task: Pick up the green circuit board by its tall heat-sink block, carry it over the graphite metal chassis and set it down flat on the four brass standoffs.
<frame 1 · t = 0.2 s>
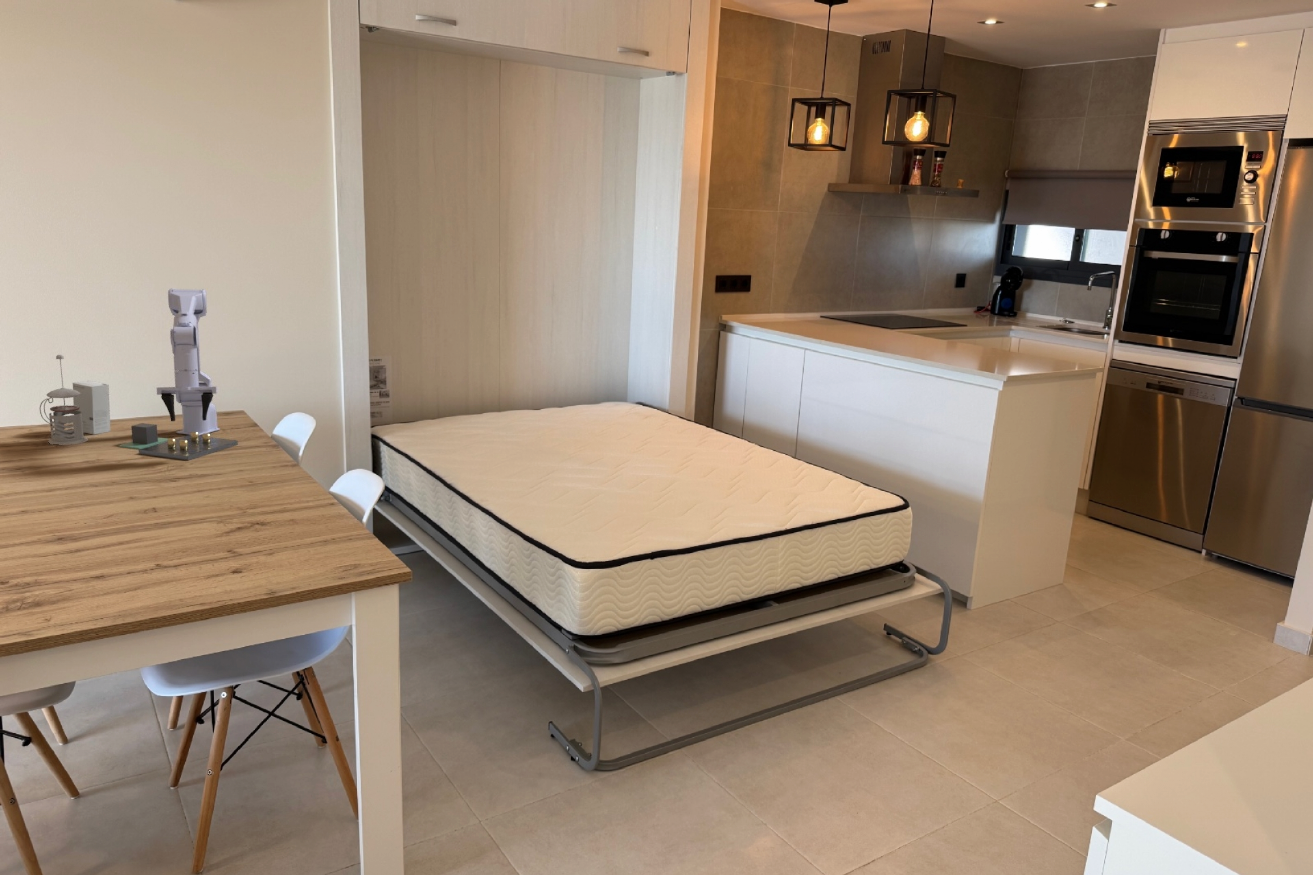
hand: (188, 420, 246), 11 cm above the table, tool pointing down, fingers open, 7 cm apart
french press: (65, 441, 258), on the table
chassis: (189, 449, 257), on the table
board: (145, 444, 260), on the table
skincare box: (93, 432, 270), on the table
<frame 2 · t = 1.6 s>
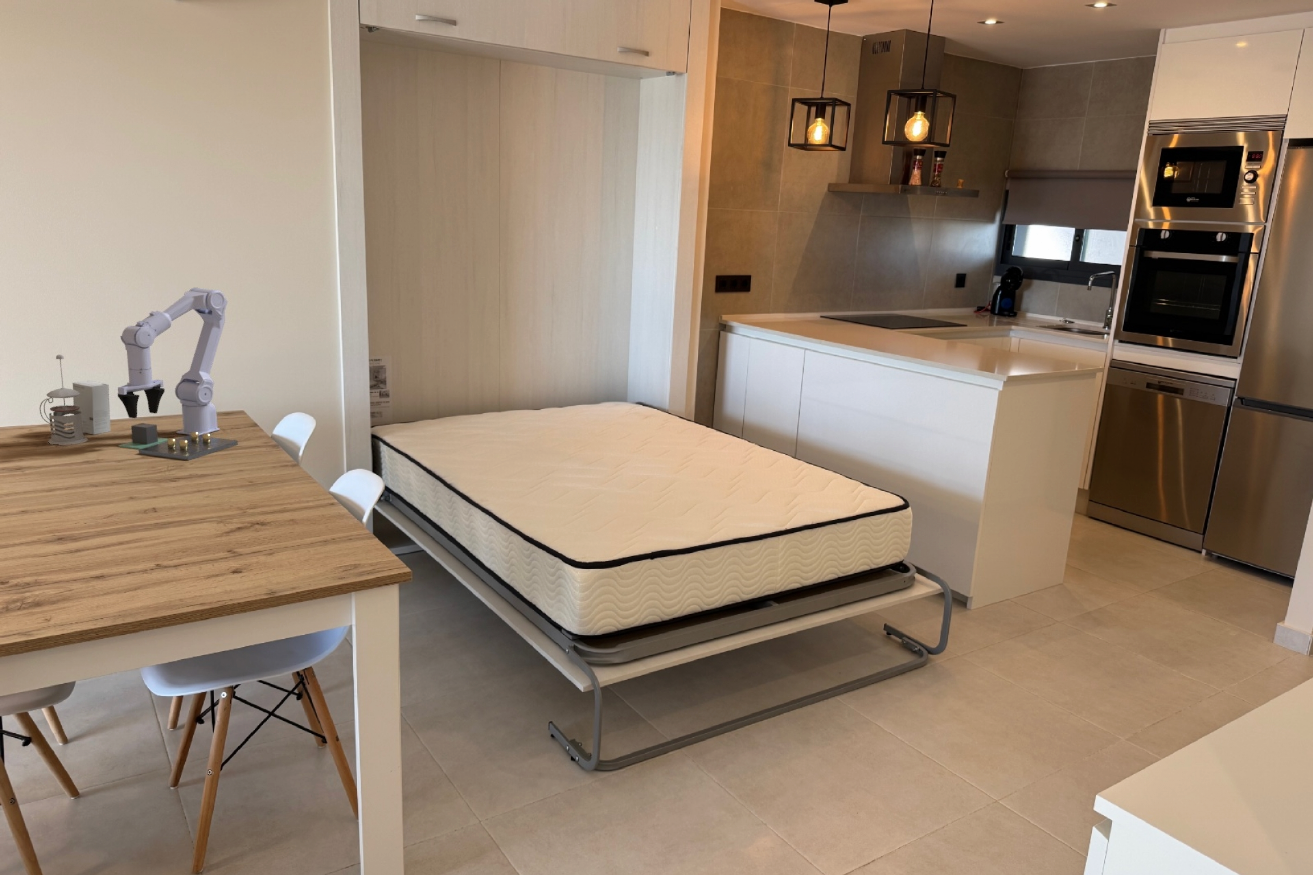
hand: (143, 415, 258), 8 cm above the table, tool pointing down, fingers open, 7 cm apart
nothing on the table moved.
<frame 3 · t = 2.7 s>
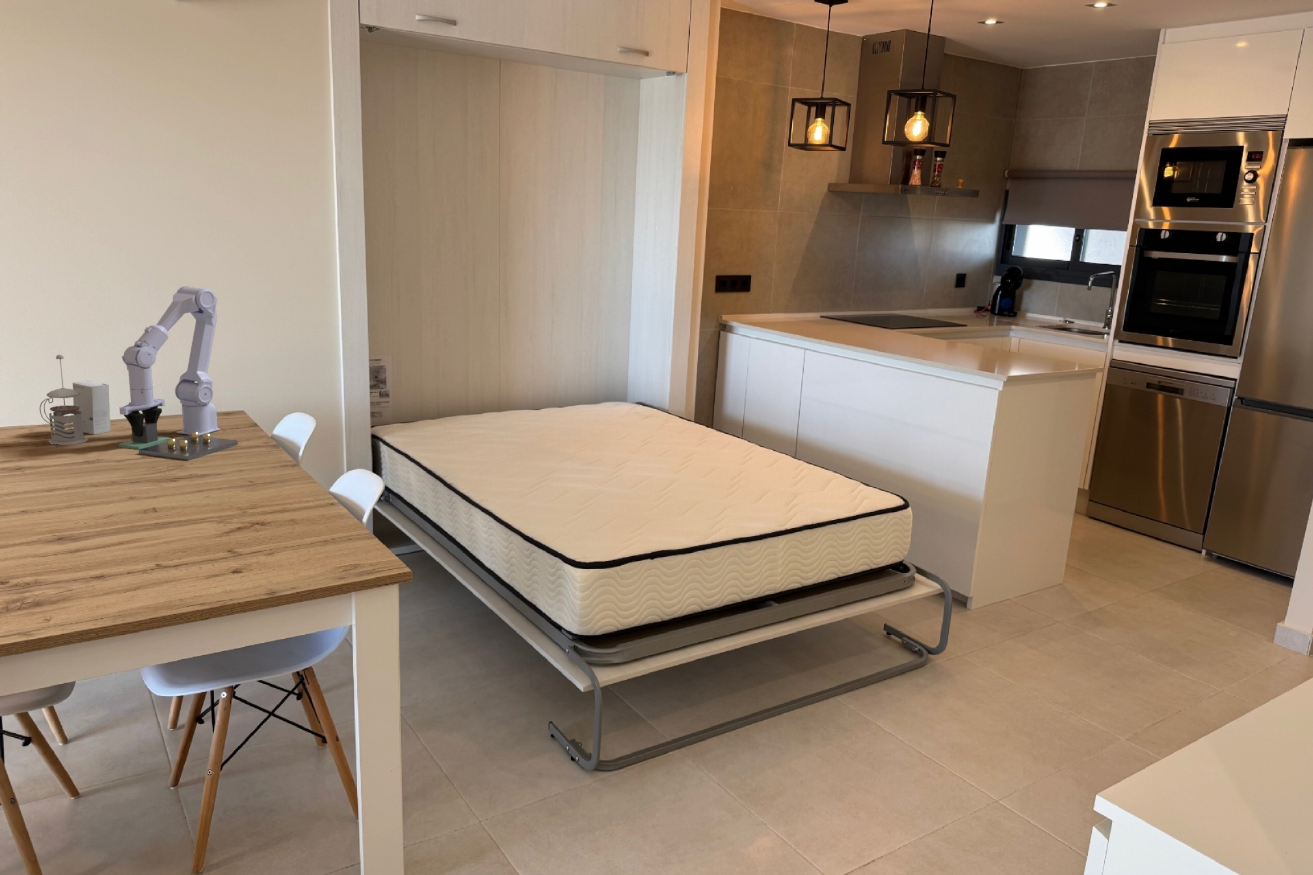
hand: (144, 434, 260), 3 cm above the table, tool pointing down, fingers closed on board, 4 cm apart
board: (145, 443, 260), on the table, touching gripper
everything else where it was.
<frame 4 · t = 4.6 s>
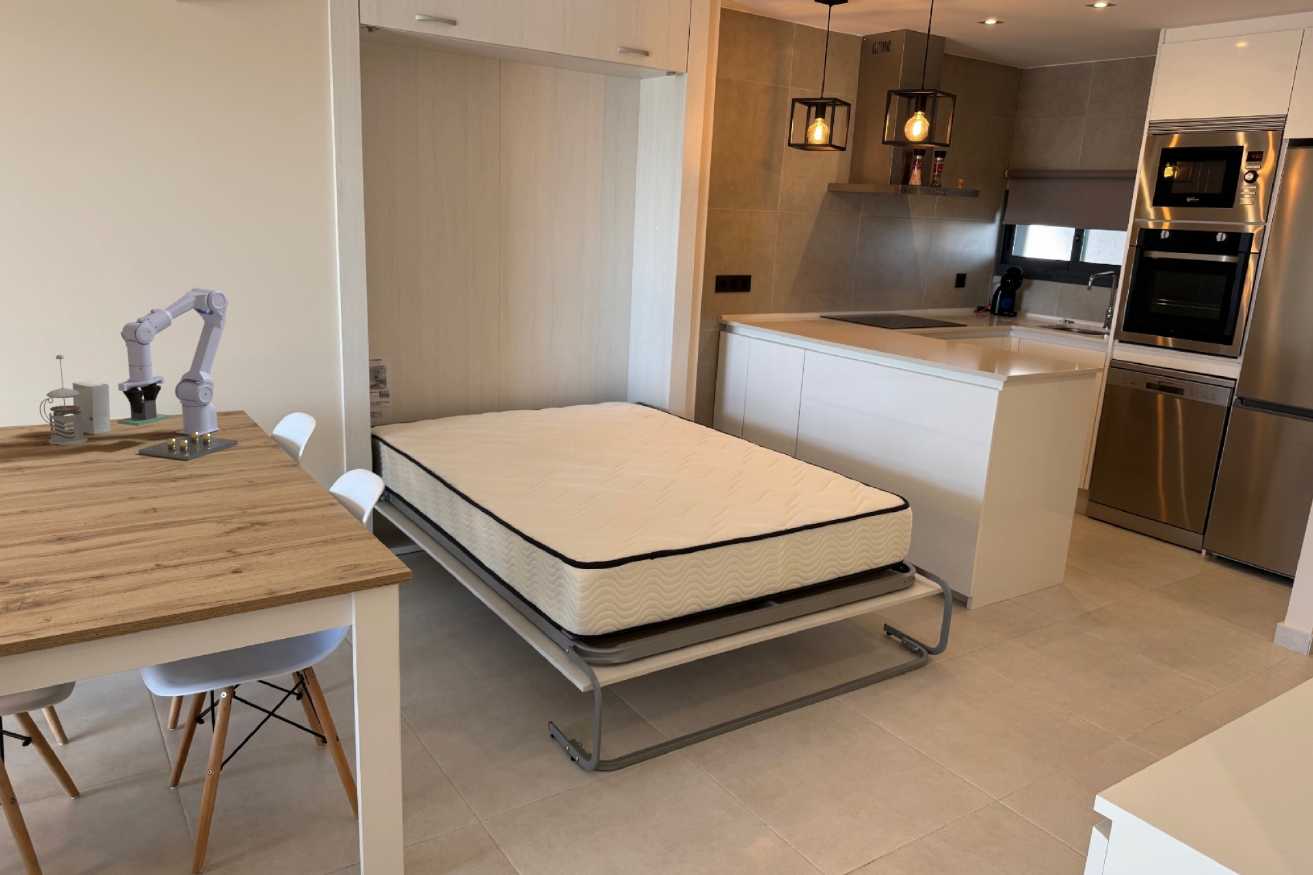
hand: (143, 411, 258), 9 cm above the table, tool pointing down, fingers closed on board, 4 cm apart
board: (144, 420, 259), point 7 cm above the table, touching gripper
everything else where it was.
when the fingers open (7 cm above the table, at t = 6.7 s): board stays where it is, resting on chassis.
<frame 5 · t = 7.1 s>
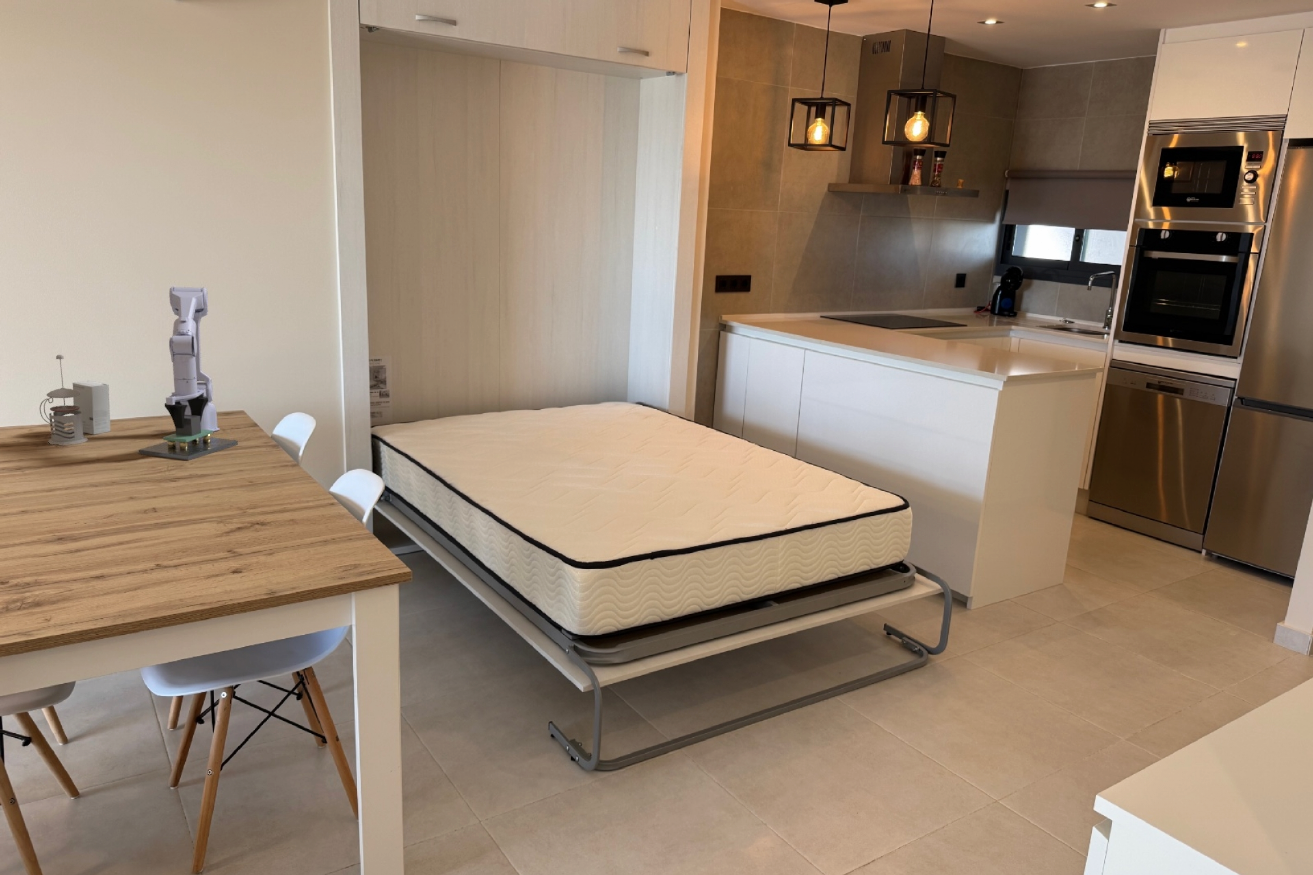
hand: (188, 425, 255), 7 cm above the table, tool pointing down, fingers open, 7 cm apart
board: (188, 436, 256), point 4 cm above the table, touching chassis
everything else where it was.
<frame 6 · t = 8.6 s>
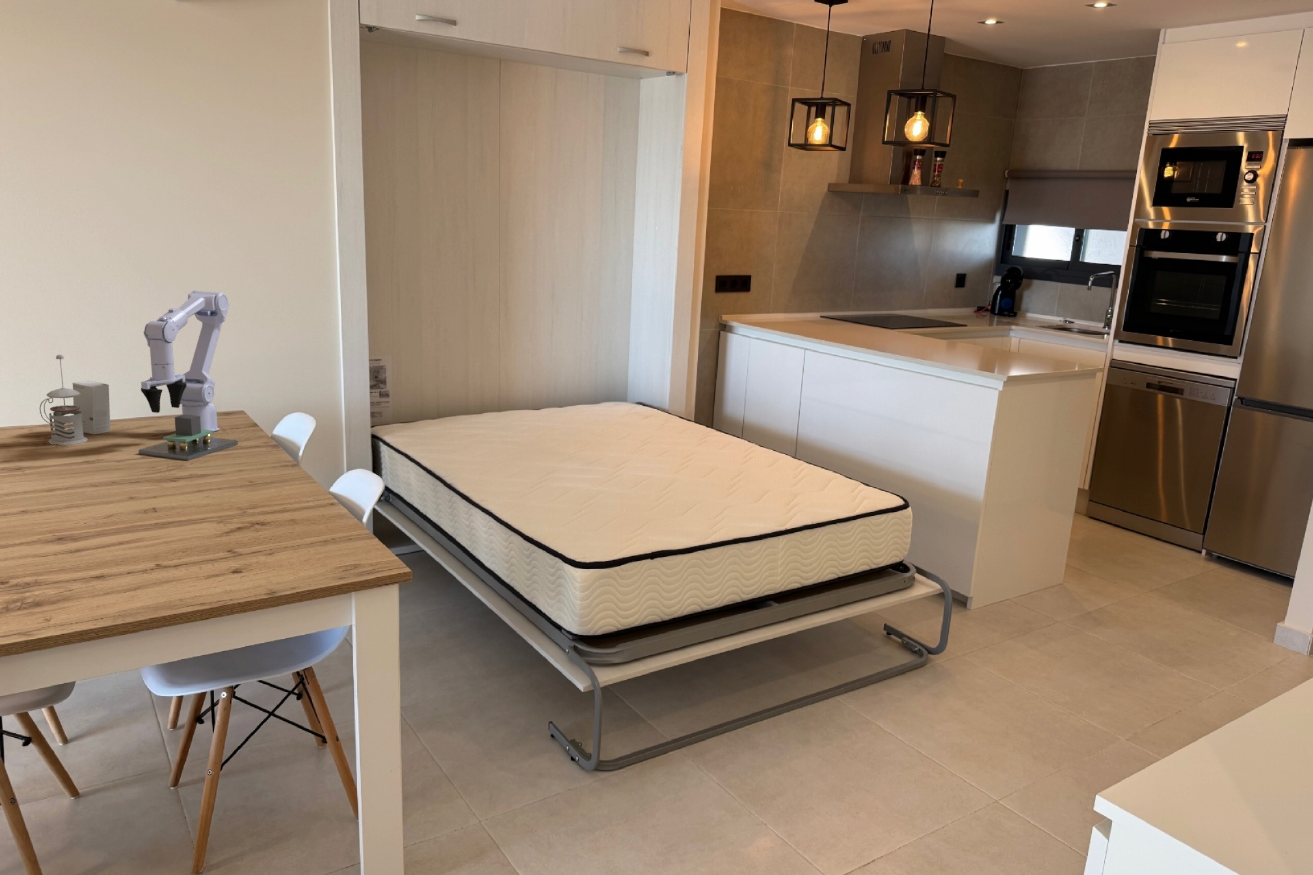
hand: (165, 409, 260), 10 cm above the table, tool pointing down, fingers open, 7 cm apart
nothing on the table moved.
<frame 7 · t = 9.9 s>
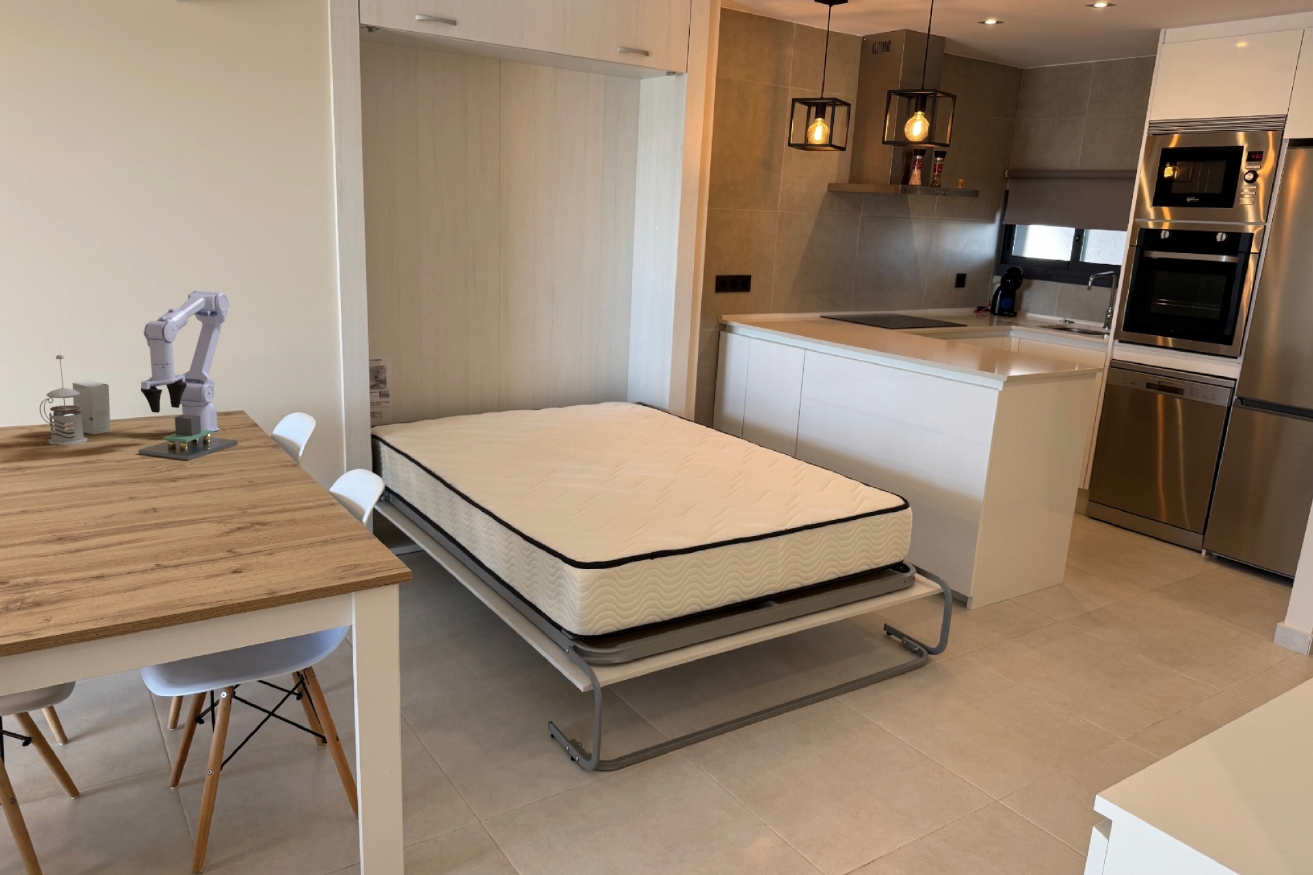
hand: (165, 409, 260), 10 cm above the table, tool pointing down, fingers open, 7 cm apart
nothing on the table moved.
at the end: board 0.1 cm off-centre on the chassis, point 3.7 cm above the chassis's base; board tilted 0°; the gripper is holding nothing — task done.
